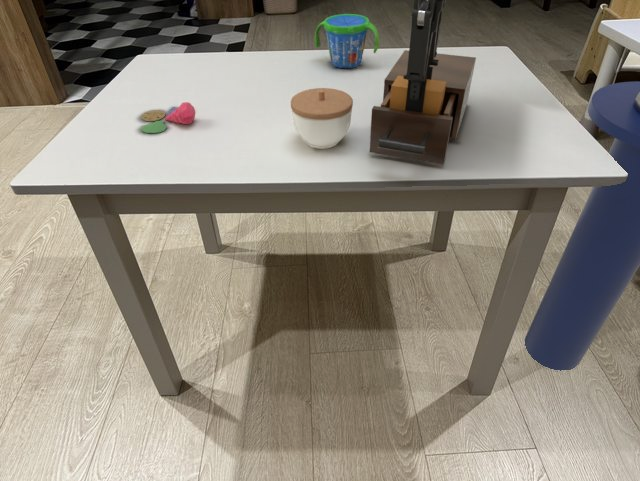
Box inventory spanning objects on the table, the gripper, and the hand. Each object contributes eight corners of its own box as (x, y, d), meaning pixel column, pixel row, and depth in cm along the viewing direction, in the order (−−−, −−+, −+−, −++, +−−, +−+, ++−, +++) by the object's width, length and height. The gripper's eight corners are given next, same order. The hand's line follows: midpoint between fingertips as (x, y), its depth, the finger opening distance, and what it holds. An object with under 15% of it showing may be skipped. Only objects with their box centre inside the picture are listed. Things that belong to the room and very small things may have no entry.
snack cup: (307, 66, 111) (306, 22, 105) (327, 52, 118) (326, 10, 112) (366, 76, 106) (369, 30, 99) (383, 61, 113) (386, 17, 106)
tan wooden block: (441, 110, 76) (446, 81, 73) (437, 122, 73) (442, 92, 70) (395, 103, 79) (398, 75, 75) (388, 114, 76) (391, 85, 72)
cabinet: (455, 142, 82) (465, 89, 75) (380, 130, 86) (384, 79, 79) (466, 106, 93) (476, 57, 86) (400, 97, 97) (404, 50, 90)
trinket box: (330, 121, 89) (330, 74, 82) (363, 144, 82) (365, 94, 76) (282, 137, 84) (278, 87, 78) (312, 162, 78) (311, 110, 71)
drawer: (437, 183, 70) (445, 137, 65) (359, 169, 74) (361, 124, 69) (456, 125, 84) (464, 83, 79) (390, 116, 88) (393, 75, 83)
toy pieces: (204, 107, 95) (200, 87, 92) (192, 133, 86) (187, 111, 83) (147, 108, 95) (141, 88, 92) (130, 134, 87) (123, 112, 84)
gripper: (456, -40, 53) (428, 139, 69) (473, -63, 66) (447, 93, 81) (394, -43, 55) (380, 131, 71) (422, -64, 68) (405, 88, 83)
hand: (416, 111), depth 76 cm, fingers closed on tan wooden block, 4 cm apart
